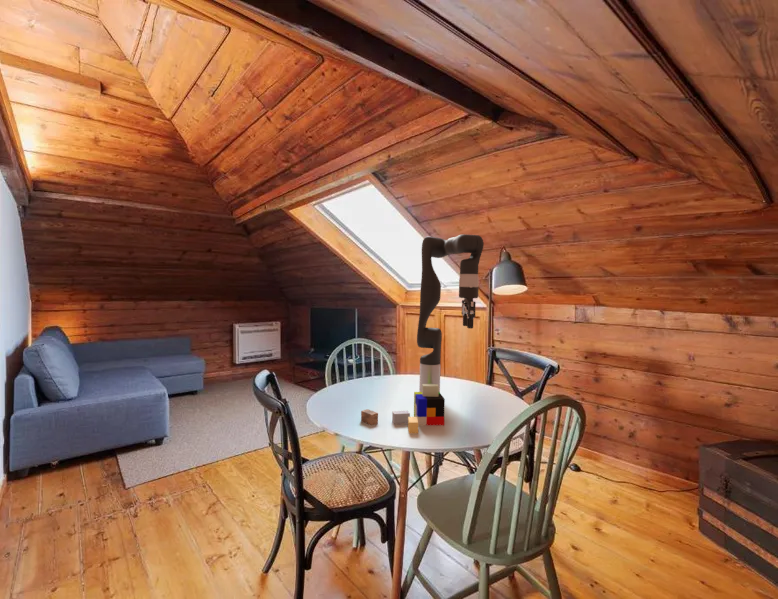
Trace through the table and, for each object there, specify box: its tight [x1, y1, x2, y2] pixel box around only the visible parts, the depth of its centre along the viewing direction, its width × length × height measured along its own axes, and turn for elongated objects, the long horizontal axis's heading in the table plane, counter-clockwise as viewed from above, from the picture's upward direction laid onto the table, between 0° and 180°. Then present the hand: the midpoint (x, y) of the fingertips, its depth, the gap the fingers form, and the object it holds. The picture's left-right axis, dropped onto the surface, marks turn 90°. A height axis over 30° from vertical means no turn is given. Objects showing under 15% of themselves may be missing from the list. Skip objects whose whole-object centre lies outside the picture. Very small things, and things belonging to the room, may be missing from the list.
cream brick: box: [422, 384, 439, 397], centre depth 152 cm, size 6×3×4 cm, turn 90°
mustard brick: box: [407, 416, 419, 434], centre depth 142 cm, size 6×3×4 cm, turn 0°
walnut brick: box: [360, 409, 379, 426], centre depth 150 cm, size 6×3×4 cm, turn 44°
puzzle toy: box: [413, 391, 446, 427], centre depth 152 cm, size 10×10×10 cm
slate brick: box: [391, 410, 411, 425], centre depth 150 cm, size 6×3×4 cm, turn 103°
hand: (467, 327), depth 155 cm, fingers open, 8 cm apart
